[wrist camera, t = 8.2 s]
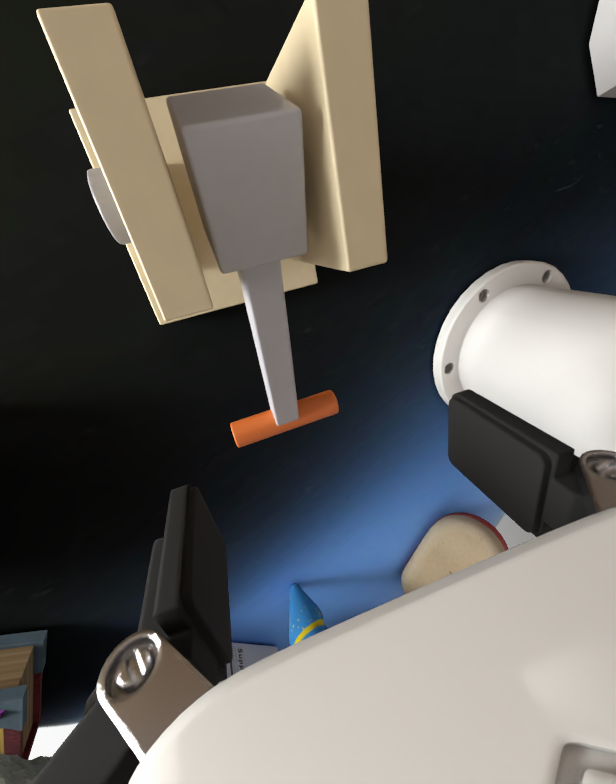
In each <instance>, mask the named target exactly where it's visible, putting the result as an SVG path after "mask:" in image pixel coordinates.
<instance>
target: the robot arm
mask: <svg viewBox="0 0 616 784" xmlns="http://www.w3.org/2000/svg"><path fill="white" fill-rule="evenodd" d="M433 374H434V380H435V385H436V387H437V390H438V392H439V395H440V396H441V397H442V399H443V400H444V401H445V403H446V404H448V405H449V431H448V456H449V460H450V462H451V463H452V464H453V465H454V466H455V467H456V468H457V469H458V470H459V471H460V472H461V473H462V474H463V475H464V476H466V477H467V478H468V479H469V480H470V481H471V482H472V483H473V484H474V485H475V486H476V487H478V488H479V489H480V490H481V491H482V492H483V493H484V494H485V495H486V496H487V497H488V498H490V499H491V500H492V501H493V502H494V503H495V504H496V505H497V506H498V507H499V508H500V509H502V510H503V511H504V512H505V513H506V514H507V515H508V516H509V517H510V518H511V519H512V520H514V521H515V522H516V523H517V524H518V525H519V526H520V527H521V528H522V529H523V530H525V531H526V532H531V533H532V534H534V535H535V536H536V538H534V539H531V540H529V541H527V542H525V543H522V544H520V545H518V546H515V547H513V548H511V549H508V550H506V551H504V552H501V553H499V554H497V555H494V556H492V557H490V558H487V559H485V560H483V561H480V562H478V563H476V564H474V565H471V566H469V567H467V568H464V569H462V570H460V571H457V572H455V573H453V574H451V575H448V576H446V577H444V578H441V579H439V580H437V581H435V582H432V583H430V584H428V585H426V586H423V587H421V588H419V589H416V590H414V591H412V592H410V593H407V594H405V595H403V596H400V597H398V598H396V599H394V600H391V601H389V602H387V603H385V604H382V605H380V606H378V607H376V608H373V609H371V610H369V611H367V612H364V613H362V614H360V615H358V616H355V617H353V618H351V619H349V620H346V621H344V622H342V623H340V624H337V625H335V626H333V627H331V628H328V629H326V630H324V631H322V632H319V633H317V634H315V635H313V636H311V637H309V638H306V639H304V640H302V641H300V642H298V643H296V644H294V645H291V646H289V647H287V648H285V649H283V650H281V651H279V652H276V653H274V654H272V655H270V656H268V657H266V658H264V659H262V660H260V661H258V662H256V663H254V664H252V665H250V666H248V667H246V668H245V669H243V670H241V671H239V672H237V673H235V674H233V675H232V676H230V677H229V678H227V664H228V663H231V662H232V658H233V656H232V638H231V623H230V607H229V591H228V575H227V559H226V548H225V543H224V540H223V538H222V536H221V534H220V532H219V530H218V528H217V526H216V524H215V522H214V520H213V517H212V515H211V513H210V511H209V509H208V507H207V505H206V503H205V501H204V499H203V497H202V495H201V493H200V491H199V489H198V487H193V488H192V487H191V486H190V485H189V484H188V485H185V486H182V487H179V488H176V489H174V490H171V492H170V498H169V505H168V512H167V519H166V526H165V533H164V537H163V538H160V539H157V540H156V541H155V542H154V544H153V548H152V553H151V559H150V565H149V571H148V576H147V582H146V588H145V594H144V599H143V605H142V611H141V617H140V622H139V628H138V632H135V633H134V634H132V635H130V636H129V637H127V638H125V639H124V640H123V641H122V642H121V643H120V644H119V645H118V646H117V647H116V648H115V649H114V650H113V652H112V653H111V654H110V655H109V657H108V658H107V660H106V662H105V664H104V665H103V667H102V669H101V672H100V675H99V678H98V681H97V696H98V700H97V701H96V702H95V704H94V705H93V706H92V707H91V709H90V710H89V711H88V712H87V714H86V715H85V716H84V717H83V719H82V720H81V721H80V722H79V724H78V725H77V726H76V728H75V729H74V730H73V731H72V732H71V734H70V735H69V736H68V737H67V739H66V740H65V742H63V744H62V745H61V746H60V747H59V749H58V750H57V751H56V753H55V754H54V755H53V756H52V758H51V759H50V760H49V761H48V763H47V764H46V765H45V766H44V768H43V769H42V770H41V771H40V773H39V774H38V775H37V776H36V778H35V779H34V780H33V781H32V783H31V784H616V296H613V295H605V294H598V293H591V292H583V291H576V290H570V286H569V283H568V282H567V280H566V278H565V277H564V275H563V274H562V273H561V272H560V271H559V270H558V269H557V268H555V267H554V266H552V265H550V264H547V263H545V262H539V261H529V260H523V261H512V262H509V263H506V264H502V265H500V266H498V267H496V268H494V269H492V270H490V271H488V272H487V273H485V274H484V275H483V276H481V277H480V278H479V279H477V280H476V281H475V282H473V283H472V285H471V286H470V287H469V288H468V289H467V290H466V291H465V292H464V293H463V294H462V295H461V296H460V298H459V299H458V300H457V302H456V303H455V304H454V306H453V307H452V309H451V310H450V312H449V314H448V316H447V318H446V319H445V321H444V323H443V325H442V328H441V330H440V333H439V336H438V339H437V342H436V347H435V352H434V356H433ZM225 679H226V680H225ZM223 680H224V681H223ZM221 681H222V682H221ZM219 682H221V683H219ZM217 683H219V684H218V685H217Z"/></svg>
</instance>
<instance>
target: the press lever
mask: <svg viewBox="0 0 616 784" xmlns="http://www.w3.org/2000/svg"><path fill="white" fill-rule="evenodd" d="M166 103H167V107H168V110H169V113H170V117H171V120H172V123H173V127H174V130H175V134H176V137H177V140H178V144H179V147H180V150H181V154H182V157H183V160H184V164H185V167H186V171H187V174H188V177H189V181H190V184H191V187H192V191H193V194H194V197H195V201H196V204H197V207H198V211H199V214H200V218H201V221H202V224H203V228H204V230H205V233H206V235H207V238H208V241H209V243H210V246H211V248H212V251H213V254H214V256H215V259H216V261H217V264H218V266H219V269H220V271H221V272H222V273H223V274H227V273H231V272H235V271H238V275H239V279H240V283H241V288H242V292H243V296H244V300H245V304H246V308H247V313H248V317H249V321H250V325H251V329H252V333H253V338H254V342H255V346H256V350H257V354H258V358H259V363H260V367H261V371H262V375H263V379H264V383H265V388H266V392H267V396H268V400H269V404H270V408H271V410H268V411H265V412H262V413H259V414H256V415H253V416H250V417H247V418H244V419H241V420H238V421H235V422H232V423H231V424H230V426H231V430H232V433H233V436H234V439H235V442H236V444H237V446H238V447H239V448H240V447H243V446H246V445H248V444H251V443H254V442H257V441H260V440H263V439H265V438H268V437H271V436H274V435H277V434H280V433H283V432H285V431H288V430H291V429H294V428H297V427H300V426H302V425H305V424H308V423H311V422H314V421H317V420H319V419H322V418H325V417H328V416H331V415H334V414H337V413H338V412H339V407H338V402H337V399H336V397H335V395H334V393H333V392H332V391H331V390H327V391H324V392H321V393H318V394H315V395H312V396H309V397H307V398H304V399H301V400H298V401H297V396H296V387H295V379H294V370H293V362H292V354H291V345H290V337H289V329H288V320H287V312H286V303H285V295H284V287H283V278H282V270H281V262H280V260H283V259H287V258H291V257H295V256H299V255H303V254H306V253H307V252H308V239H307V217H306V194H305V172H304V150H303V128H302V112H301V109H300V108H299V107H297V106H296V105H294V104H293V103H292V102H290V101H289V100H287V99H286V98H284V97H283V96H282V95H280V94H279V93H277V92H276V91H274V90H273V89H271V88H270V87H269V86H267V85H266V84H263V83H260V84H253V85H245V86H238V87H231V88H224V89H217V90H210V91H203V92H196V93H189V94H182V95H175V96H169V97H168V98H167V99H166Z"/></svg>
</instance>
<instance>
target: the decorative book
mask: <svg viewBox="0 0 616 784" xmlns="http://www.w3.org/2000/svg"><path fill="white" fill-rule="evenodd" d="M47 631H48V630H41V631H33V632H25V633H17V634H9V635H1V636H0V753H2V754H6V755H18V756H19V757H21V758H22V759H26V760H28V758H29V755H30V751H31V748H32V745H33V742H34V739H35V735H36V732H37V729H38V726H39V723H40V719H41V699H42V672H43V669H44V666H45V663H46V650H47Z"/></svg>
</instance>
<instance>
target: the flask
mask: <svg viewBox="0 0 616 784" xmlns="http://www.w3.org/2000/svg"><path fill="white" fill-rule="evenodd" d="M589 47H590V54H591V60H592V66H593V72H594V78H595V85H596V91H597V97H612V98H616V0H599V4H598V8H597V12H596V17H595V21H594V25H593V29H592V34H591V38H590V42H589Z"/></svg>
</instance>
